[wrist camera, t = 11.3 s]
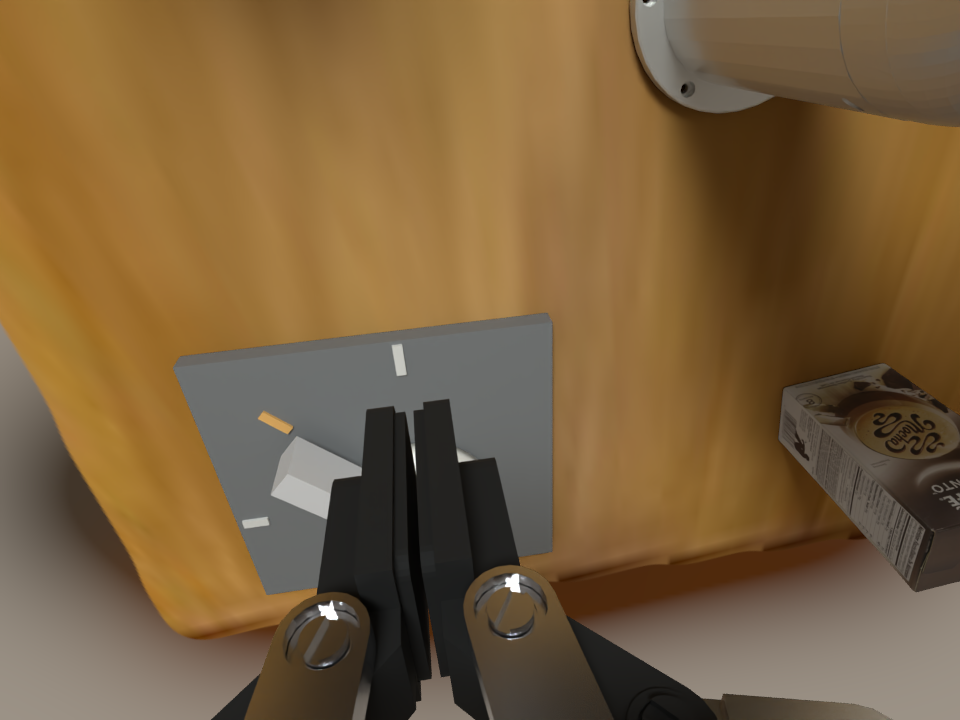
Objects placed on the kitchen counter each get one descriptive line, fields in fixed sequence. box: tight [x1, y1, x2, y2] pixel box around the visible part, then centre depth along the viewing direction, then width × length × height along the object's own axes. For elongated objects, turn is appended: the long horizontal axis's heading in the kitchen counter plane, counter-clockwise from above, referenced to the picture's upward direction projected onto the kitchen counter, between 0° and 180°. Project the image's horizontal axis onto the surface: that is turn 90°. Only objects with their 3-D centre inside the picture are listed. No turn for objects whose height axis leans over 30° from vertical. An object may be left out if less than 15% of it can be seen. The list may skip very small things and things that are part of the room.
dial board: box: [173, 313, 552, 595], centre depth 46 cm, size 26×24×2 cm
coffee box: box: [778, 363, 960, 592], centre depth 42 cm, size 9×6×16 cm
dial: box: [271, 436, 478, 519], centre depth 43 cm, size 18×12×5 cm, turn 51°
